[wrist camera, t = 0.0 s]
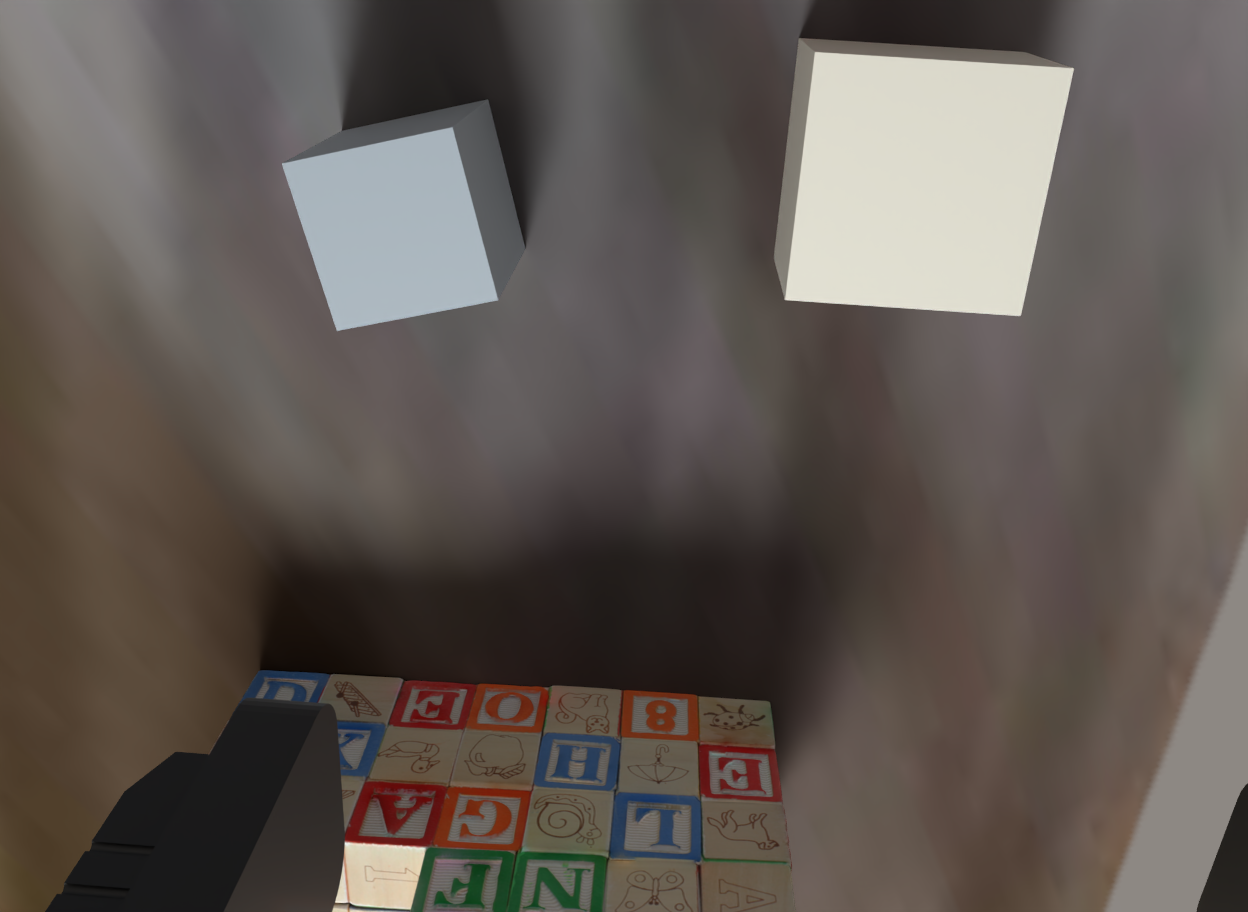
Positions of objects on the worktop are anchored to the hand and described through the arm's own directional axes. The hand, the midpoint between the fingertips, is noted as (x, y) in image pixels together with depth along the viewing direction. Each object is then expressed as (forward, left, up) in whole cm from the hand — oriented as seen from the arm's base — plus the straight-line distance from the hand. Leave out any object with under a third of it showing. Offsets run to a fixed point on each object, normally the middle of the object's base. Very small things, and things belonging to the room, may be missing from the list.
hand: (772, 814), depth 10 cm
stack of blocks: (+24, -6, -30) cm, 39 cm away
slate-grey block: (+1, -9, -29) cm, 31 cm away
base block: (-1, +6, -30) cm, 30 cm away
